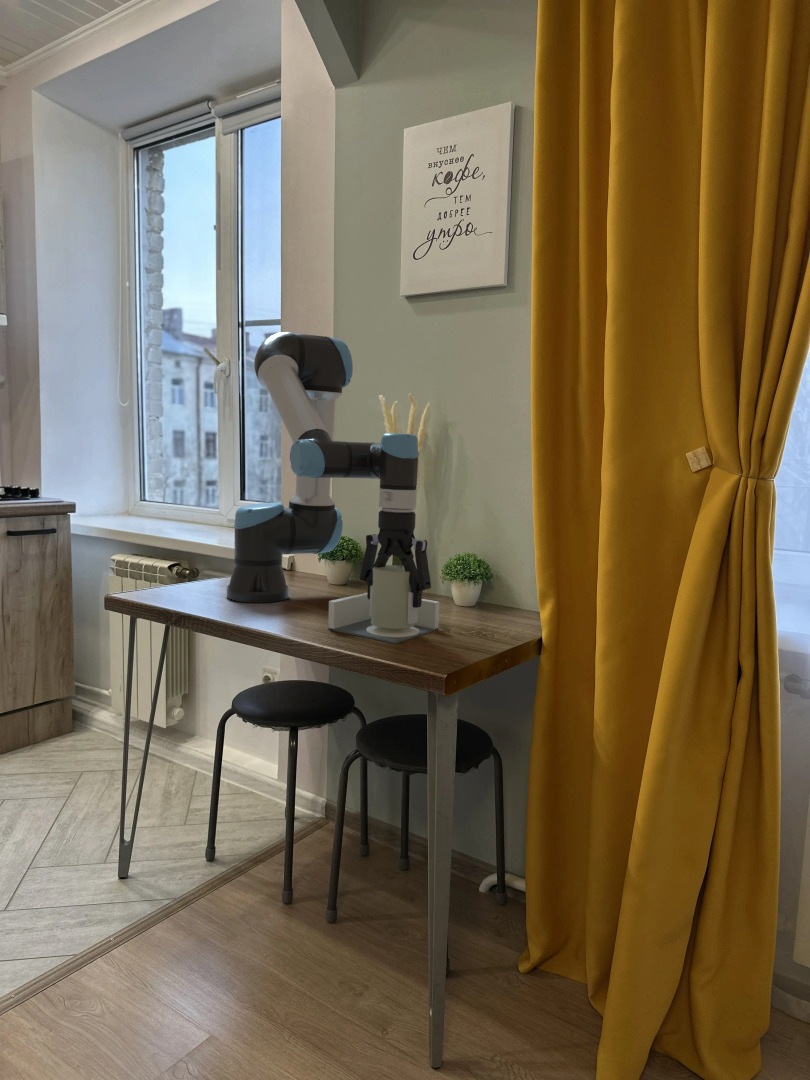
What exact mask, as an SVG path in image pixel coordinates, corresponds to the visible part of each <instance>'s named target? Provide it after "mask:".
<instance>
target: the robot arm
mask: <svg viewBox="0 0 810 1080" xmlns="http://www.w3.org/2000/svg"><path fill="white" fill-rule="evenodd" d="M353 365H354V364H353V358H352V355H351V351H350V349H349V347H348V345H347V344H346V342H344V340H342V339H339V338H335V337H330V336H323V335H314V334H307V333H305V334H304V333H298V332H297V333H296V332H290V331H283V332H277V333H275V334H272V335H270V336H269V337H267V338H266V339H265V340H264V341H263V342H262V343H261V344H260V346H259V347H258V349H257V351H256V354H255V357H254V365H253V367H254V372H255V375H256V378H257V380H258V382H259V384H260V385H261V387H263V388H264V389H266V390H268V393H269V395H270V397H271V399H272V401H273V403H274V406H275V408H276V410H277V412H278V414H279V416H280V418H281V420H282V423H283V424H284V427H285V429H286V430H287V433H288V435H289V437H290V438H291V441H292V445H291V448H290V451H289V462H290V468H291V470H292V472H293V473H294V474H295V475H296V479H295V480H296V481H295V493H294V495H293V496H292V497H290V498H289V499H288V507H286V508H285V506H284V504H283V503H282V502H278V501H277V502H275V501H272V502H260V503H259V502H258V503H252V504H247V505H243V506H240V507H238V509H236V511H235V514H234V515H235V517H234V524H233V528H234V556H233V557H234V564H233V569H232V573H231V576H230V580H229V584H228V585H227V587H226V598H227V597H228V598H229V600H231V599H232V601H234V600H235V602H242V603H275V602H280V601H281V602H282V601H284V600H286V599H288V598H289V593H290V592H289V586H288V585H287V582H286V577H285V573H284V570H283V556H284V555H295V554H296V555H300V554H304V555H305V554H306V555H307V554H314V555H317V554H321V553H329V552H331V551H333V550H334V549H335V548H336V547H337V546H338V544H339V542H340V540H341V537H342V534H343V533H342V532H343V526H344V524H343V523H344V522H343V519H342V518H343V516H342V513H341V511H340V510H339V509H338V508H336V502H335V500H334V499H332V497H331V496H330V495H331V494H330V493H331V479H332V478H333V479H334V478H335V479H336V478H337V479H342V478H344V479H374V480H375V479H377V480H379V499H378V500H379V502H378V507H379V508H380V509H381V510H379V511H378V522H377V524H378V526H377V527H378V529H379V531H378V533H377V534H367V535H366V536H365V544H366V547H365V550H364V556H363V561H362V565H361V570H360V575H359V580H360V581H364V582H365V584H367V591H366V593H367V597H368V599H369V600H370V611H369V616H370V617H371V616H372V593H373V567H377V568H379V567H385V565H387V564H388V561H389V559H390V557H392V556H394V557H397V558H398V559H399V561H401V563H402V566H404V569H405V572H410V573H409V583H410V586H411V589H412V590H411V591H410V592H408V614H407V624H412V623H416V622H418V607H421V602H422V599H423V591H425V590H429V589H432V582H431V577H430V576H431V574H430V569H429V561H428V555H427V548H428V541H427V540H426V539H424V540H423V539H422V540H421V539H417V538H416V537H415V534H414V531H415V528H416V515H417V514H416V512H415V511H414V510H416V508H417V491H418V490H417V486H418V471H419V470H418V469H419V456H420V452H419V439H418V437H417V436H416V434H412V433H398V432H397V433H392V432H387V433H386V432H385V433H384V434H382V437H381V442H367V441H366V442H362V441H343V440H342V441H340V440H338V441H337V440H334V427H335V424H334V423H335V408H336V400H338V398H340V396H342V393H343V388H346V387H347V386H348V385H349V384H350V383H351V379H352V376H353V370H354V369H353V368H354V366H353ZM379 544H380V548H379V549H378V546H379ZM412 548H413V550H414V553H413V551H412ZM376 556H377V557H376ZM414 558H415V561H414ZM228 598H227V599H228Z"/></svg>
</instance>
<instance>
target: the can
mask: <svg viewBox="0 0 810 1080" xmlns="http://www.w3.org/2000/svg"><path fill="white" fill-rule="evenodd" d="M409 573H410V572H405V569H404V566H403V565H402V564H401V565H400V564H398V565H397V564H396V565H395V564H390V565H388V564H386V565H385V567H379V568H377V567H373V593H372V616H371V624H372V625H374V626H377V627H381V628H388V629H403V628H410V627H413V626H414V625H415V623H412V624H407V614H408V592H410V591H411V590H412V589H411V586H410V583H409Z"/></svg>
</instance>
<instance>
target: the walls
mask: <svg viewBox="0 0 810 1080" xmlns="http://www.w3.org/2000/svg"><path fill="white" fill-rule="evenodd" d="M369 611H370V600H369V599H368V597H367V592H364V593H359V594H355V595H351V596H350V595H349V596H346V597H340V598H337V599H332V600H329V601H328V624H327V625H328V626H327V630H328V629H331V630H330V631H333V630H332V629H335V628H339V627H342V626H346V625H350V624H353V623H357V622H361V621H365V620H368V619H371V617H370V616H369ZM439 618H440V601H438V600H436V601H435V600H431V599H425V598H422V602H421V607H418V622H416V623H415V625H417V626H422V627H427V628H433V629H435V630H434V631H433V632H435V631H437V630H436V628H438V629H439V623H440V622H439Z"/></svg>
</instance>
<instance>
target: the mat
mask: <svg viewBox="0 0 810 1080" xmlns="http://www.w3.org/2000/svg"><path fill="white" fill-rule="evenodd" d="M327 630H329V631H333V632H338V633H343V634H348V635H353V636H358V637H362V638H367V639H371V640H377V641H381V642H385V643H391V644H398V643H402V642H405V641H408V640H412V639H414V638H417V637H420V636H423V635H425V634H428V633H431V632H435V631H438V630H439V627H438V628H436V630H435V629H433V628H427V627H422V626H417V625H414V626H413V627H410V628H403V629H388V628H381V627H377V626H374V625H372V624H371V619H368V620H365V621H361V622H357V623H353V624H350V625H346V626H342V627H339V628H335V629H332V630H331V629H328V628H327ZM434 630H435V631H434Z"/></svg>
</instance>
